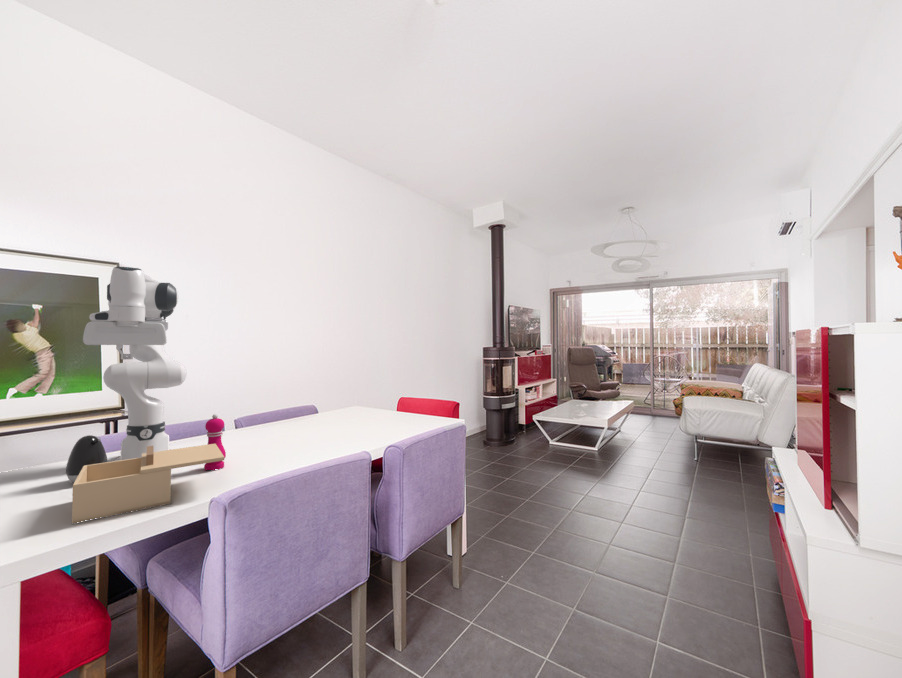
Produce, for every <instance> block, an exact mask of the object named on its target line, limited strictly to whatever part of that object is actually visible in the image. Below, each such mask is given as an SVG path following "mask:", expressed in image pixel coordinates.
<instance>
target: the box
mask: <svg viewBox="0 0 902 678" xmlns="http://www.w3.org/2000/svg"><path fill="white" fill-rule="evenodd" d="M141 458H142V457H141ZM141 458H134V459H127V460H120V461H115V460H114V461H108V462H106V463H99V464H92V465H85V466H83V468H82V470H81V472H80V473H79V475H78V477H77V479H76V480H75V482H74V483H73V484H72V502H71V503H72V504H71V506H72V508H71V524H72V523H77V522H81V521H85V520H90V519H95V518H100V517H105V518H107V517H106V516H110V517H112V516H111V515H115V516H117V515H116V514H119V515H122V514H121V513H124V514H127V513H126V512H129V513H132V512H131V511H134V512H137V511H136V510H138V511H142V510H141V509H143V510H148V509H151V508H150V507H153V508H156V506H157V507H160V505H162V506H166V505H165V504H167V505H170V504H171V501H172V500H171V497H172V496H171V493H172V491H171V488H172V487H171V485H172V469H168V470H162V471H156V472H149V473H143V474H140V470H141ZM169 503H170V504H169ZM147 508H148V509H147ZM100 519H101V518H100ZM81 523H82V522H81ZM77 524H78V523H77Z"/></svg>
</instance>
